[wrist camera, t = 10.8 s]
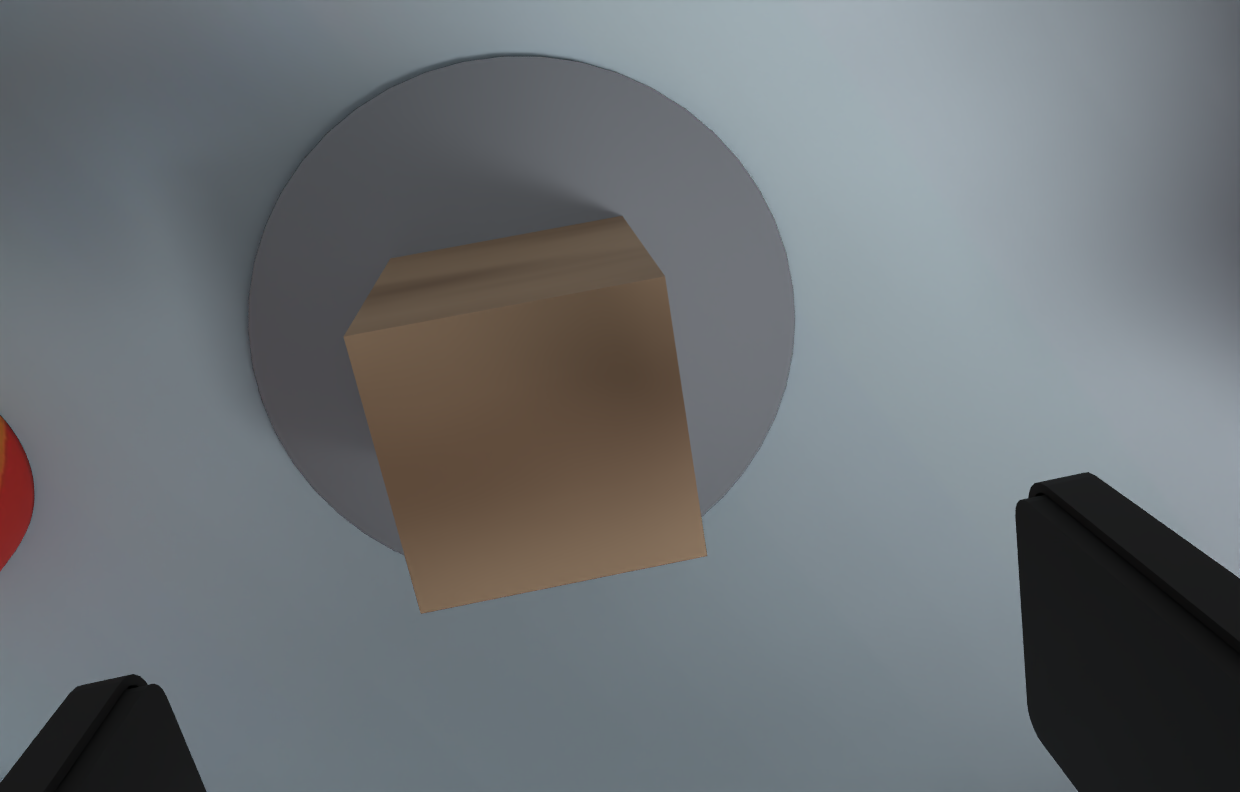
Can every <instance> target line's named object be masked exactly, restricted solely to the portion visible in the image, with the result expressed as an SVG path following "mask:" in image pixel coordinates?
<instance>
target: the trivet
mask: <svg viewBox="0 0 1240 792" xmlns="http://www.w3.org/2000/svg"><path fill="white" fill-rule="evenodd" d="M618 216H623V217H624V219H625V220H626V222H627V223H628V224H629V226H630V227H631V229H632V230H633V232H634V233H635V234H636V236H637V237H638V239H639V240H640V241H641V243H642V244H643V246H644V247H645V249H646V250H647V251H648V253H649V254H650V256H651V257H652V258H653V260H654V261H655V263H656V264H657V266H658V267H659V268H660V270H661V271H662V273H663V274H664V275H665V279H666V285H667V292H668V299H669V305H670V312H671V319H672V325H673V332H674V339H675V345H676V352H677V359H678V365H679V372H680V378H681V385H682V392H683V398H684V405H685V412H686V418H687V425H688V432H689V438H690V445H691V452H692V458H693V465H694V472H695V478H696V485H697V492H698V498H699V505H700V511H701V517H702V516H703V515H704V514H705V513H706V512H707V511H708V510H710V509H711V508H712V507H713V506H714V505H715V504H716V503H717V502H718V501H719V500H720V499H721V498H723V496H724V495H725V494H726V493H727V492H728V491H729V489H730V488H731V487H732V486H733V485H734V483H735V482H736V481H737V480H738V479H739V478H740V476H741V475H742V474H743V473H744V471H745V470H746V468H747V467H748V465H749V464H750V462H751V461H752V459H753V458H754V456H755V455H756V453H757V452H758V450H759V449H760V447H761V446H762V443H763V441H764V439H765V437H766V435H767V433H768V431H769V429H770V427H771V425H772V423H773V421H774V419H775V417H776V414H777V411H778V408H779V405H780V403H781V400H782V397H783V394H784V391H785V388H786V384H787V380H788V375H789V370H790V365H791V360H792V355H793V343H794V329H795V311H794V295H793V285H792V279H791V274H790V269H789V264H788V259H787V254H786V251H785V248H784V245H783V242H782V239H781V237H780V234H779V231H778V228H777V225H776V222H775V220H774V218H773V216H772V214H771V212H770V210H769V208H768V206H767V204H766V202H765V200H764V198H763V196H762V194H761V192H760V190H759V188H758V187H757V185H756V184H755V182H754V181H753V180H752V178H751V177H750V175H749V174H748V172H747V171H746V169H745V168H744V166H743V165H742V164H741V162H740V161H739V159H738V158H737V157H736V156H735V155H734V154H733V153H732V152H731V151H730V149H729V148H728V147H727V146H726V145H725V144H724V143H723V142H722V141H721V140H720V139H719V137H718V136H717V135H716V134H715V133H714V132H713V131H712V130H710V129H709V128H708V127H707V126H706V125H704V124H703V123H702V122H701V121H700V120H698V119H697V118H696V117H695V116H694V115H692V114H691V113H690V112H689V111H688V110H686V109H685V108H683V107H682V106H680V105H679V104H677V103H675V102H674V101H672V100H671V99H669V98H667V97H666V96H664V95H662V94H661V93H659V92H658V91H656V90H654V89H653V88H650V87H648V86H646V85H644V84H641V83H639V82H637V81H635V80H632V79H630V78H628V77H626V76H623V75H621V74H619V73H616V72H612V71H609V70H606V69H602V68H599V67H595V66H592V65H588V64H585V63H581V62H575V61H568V60H561V59H554V58H547V57H495V58H488V59H480V60H473V61H465V62H461V63H457V64H454V65H450V66H447V67H443V68H439V69H436V70H432V71H429V72H425V73H423V74H421V75H418V76H416V77H414V78H412V79H409V80H407V81H405V82H402V83H400V84H398V85H396V86H393V87H391V88H389V89H387V90H386V91H384V92H383V93H381V94H379V95H378V96H376V97H375V98H373V99H371V100H370V101H368V102H366V103H365V104H363V105H362V106H360V107H358V108H357V109H356V110H354V111H353V112H352V113H351V114H350V115H348V116H347V117H346V118H345V119H344V120H342V121H341V122H340V123H339V124H338V125H336V126H335V127H334V128H333V129H332V130H330V131H329V132H328V133H327V134H326V135H325V136H324V137H323V139H322V140H321V141H320V142H319V143H318V144H317V145H316V146H315V147H314V149H313V150H312V151H311V152H310V153H309V154H308V155H307V156H306V157H305V159H304V160H303V161H302V162H301V164H300V165H299V167H298V168H297V170H296V171H295V173H294V174H293V176H292V177H291V179H290V180H289V182H288V183H287V185H286V186H285V188H284V189H283V191H282V192H281V194H280V196H279V198H278V200H277V202H276V205H275V207H274V209H273V211H272V213H271V215H270V217H269V219H268V221H267V224H266V226H265V229H264V232H263V235H262V238H261V242H260V245H259V248H258V251H257V255H256V258H255V261H254V267H253V274H252V280H251V287H250V293H249V330H248V333H249V341H250V349H251V356H252V364H253V370H254V373H255V377H256V381H257V384H258V388H259V392H260V395H261V399H262V402H263V405H264V407H265V409H266V412H267V414H268V416H269V419H270V421H271V423H272V426H273V428H274V430H275V433H276V435H277V436H278V438H279V440H280V441H281V443H282V445H283V446H284V448H285V450H286V451H287V453H288V455H289V456H290V458H291V460H292V462H293V463H294V464H295V466H296V467H297V468H298V469H299V471H300V472H301V473H302V475H303V476H304V477H305V478H306V480H307V481H308V482H309V483H310V485H311V486H312V487H313V489H314V490H315V491H316V492H317V493H318V494H319V495H320V496H321V497H322V498H323V499H324V500H325V501H326V502H327V503H328V504H329V505H330V506H331V507H332V508H333V509H334V510H336V511H337V512H338V513H339V514H340V515H341V516H343V517H344V518H345V519H346V520H348V521H349V522H350V523H352V524H353V525H354V526H356V527H357V528H358V529H359V530H361V531H362V532H363V533H365V534H366V535H368V536H370V537H371V538H373V539H375V540H376V541H378V542H380V543H382V544H383V545H385V546H387V547H388V548H390V549H392V550H393V551H396V552H398V553H400V554H403V555H404V552H403V548H402V544H401V541H400V537H399V534H398V530H397V527H396V523H395V519H394V516H393V512H392V509H391V505H390V501H389V498H388V494H387V491H386V487H385V484H384V480H383V476H382V473H381V469H380V466H379V462H378V459H377V455H376V451H375V448H374V444H373V441H372V437H371V433H370V430H369V426H368V423H367V419H366V416H365V412H364V408H363V405H362V401H361V398H360V394H359V390H358V387H357V383H356V380H355V376H354V373H353V369H352V365H351V362H350V358H349V355H348V351H347V348H346V344H345V340H344V335H345V333H346V332H347V330H348V328H349V327H350V325H351V323H352V322H353V320H354V318H355V317H356V315H357V313H358V312H359V310H360V308H361V307H362V305H363V303H364V302H365V300H366V298H367V297H368V295H369V293H370V292H371V290H372V288H373V287H374V285H375V283H376V282H377V280H378V278H379V277H380V275H381V273H382V272H383V270H384V268H385V267H386V265H387V263H388V262H389V260H390V258H396V257H401V256H407V255H412V254H417V253H423V252H428V251H434V250H439V249H445V248H450V247H455V246H461V245H466V244H472V243H477V242H483V241H488V240H493V239H499V238H504V237H510V236H515V235H521V234H526V233H531V232H537V231H542V230H548V229H553V228H559V227H564V226H569V225H575V224H580V223H586V222H591V221H597V220H602V219H607V218H613V217H618Z"/></svg>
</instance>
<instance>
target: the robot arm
mask: <svg viewBox="0 0 1240 792" xmlns="http://www.w3.org/2000/svg"><path fill="white" fill-rule="evenodd" d="M1015 516H1016V532H1017V548H1018V564H1019V580H1020V596H1021V612H1022V628H1023V644H1024V660H1025V676H1026V692H1027V705H1028V712H1029V716H1030V720H1031V722H1032V725H1033V728H1034V730H1035V732H1036V734H1037V736H1038V738H1039V739H1040V741H1041V742H1042V744H1043V745H1044V747H1045V748H1046V749H1047V750H1048V752H1049V753H1050V754H1051V756H1052V757H1053V758H1054V760H1055V761H1056V762H1057V764H1058V765H1059V766H1060V768H1061V769H1062V770H1063V772H1064V773H1065V774H1066V776H1067V777H1068V778H1069V780H1070V781H1071V782H1072V784H1073V785H1074V786H1075V788H1076V789H1077V790H1078V792H1240V578H1238V577H1237V576H1235V575H1234V574H1233V573H1231V572H1230V571H1228V570H1227V569H1226V568H1224V567H1223V566H1221V565H1220V564H1219V563H1217V562H1216V561H1214V560H1213V559H1212V558H1210V557H1209V556H1207V555H1206V554H1205V553H1203V552H1202V551H1200V550H1199V549H1198V548H1196V547H1195V546H1193V545H1192V544H1191V543H1189V542H1188V541H1186V540H1185V539H1184V538H1182V537H1181V536H1179V535H1178V534H1177V533H1175V532H1174V531H1172V530H1171V529H1170V528H1168V527H1167V526H1165V525H1164V524H1163V523H1161V522H1160V521H1158V520H1157V519H1155V518H1154V517H1153V516H1151V515H1150V514H1148V513H1147V512H1146V511H1144V510H1143V509H1141V508H1140V507H1139V506H1137V505H1136V504H1134V503H1133V502H1132V501H1130V500H1129V499H1127V498H1126V497H1125V496H1123V495H1122V494H1120V493H1119V492H1118V491H1116V490H1115V489H1113V488H1112V487H1111V486H1109V485H1108V484H1106V483H1105V482H1104V481H1102V480H1101V479H1099V478H1098V477H1097V476H1095V475H1093V474H1091V473H1089V472H1087V473H1081V474H1076V475H1071V476H1067V477H1062V478H1057V479H1052V480H1048V481H1043V482H1038V483H1034V485H1033V486H1032V487H1031V489H1030V492H1029V498H1027V499H1023V500H1020V501H1019V502H1018V503H1017V506H1016V515H1015ZM0 792H206V789H205V787H204V785H203V782H202V780H201V777H200V775H199V773H198V770H197V768H196V766H195V763H194V761H193V758H192V756H191V754H190V751H189V749H188V746H187V744H186V742H185V739H184V737H183V735H182V732H181V730H180V727H179V725H178V723H177V720H176V718H175V715H174V713H173V711H172V708H171V706H170V703H169V701H168V699H167V696H166V695H165V693H164V691H163V689H162V688H161V687H160V686H158V685H156V684H150V685H148V684H147V683H146V681H145V680H143V679H142V678H141V677H140V676H138V675H134V674H132V675H127V676H122V677H118V678H113V679H108V680H104V681H99V682H94V683H89V684H85V685H81V686H77V687H76V688H75V689H74V690H73V691H72V692H70V694H69V695H68V696H67V698H66V699H65V700H64V701H63V703H62V704H61V705H60V707H59V708H58V709H57V710H56V712H55V713H54V714H53V716H52V717H51V718H50V719H49V721H48V722H47V723H46V725H45V726H44V727H43V729H42V730H41V731H40V732H39V734H38V735H37V736H36V738H35V739H34V740H33V741H32V743H31V744H30V745H29V747H28V748H27V749H26V750H25V752H24V753H23V754H22V756H21V757H20V758H19V760H18V761H17V762H16V763H15V765H14V766H13V767H12V769H11V770H10V771H9V772H8V774H7V775H6V776H5V778H4V779H3V780H2V781H1V783H0Z"/></svg>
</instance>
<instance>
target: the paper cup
mask: <svg viewBox="0 0 1240 792" xmlns="http://www.w3.org/2000/svg"><path fill="white" fill-rule="evenodd" d="M33 507H34V482H33V476H32V471H31V468H30V464H29V461H28V459H27V456H26V453H25V451H24V449H23V447H22V445H21V443H20V442H19V440H18V438H17V436H16V435H15V434H14V432H13V431H12V429H11V428H10V426H9V425H8V424H7V423H6V421H5V420H4V419H3V418H2V417H1V416H0V571H1V570H2V568H3V567H4V566H5V565H6V563H7V562H8V560H9V559H10V558H11V556H12V555H13V553H14V552H15V551H16V549H17V547H18V546H19V544H20V543H21V541H22V539H23V537H24V535H25V533H26V531H27V529H28V526H29V524H30V521H31V517H32V513H33Z"/></svg>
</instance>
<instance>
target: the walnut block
mask: <svg viewBox="0 0 1240 792" xmlns="http://www.w3.org/2000/svg"><path fill="white" fill-rule="evenodd" d="M344 340H345V344H346V348H347V351H348V355H349V358H350V362H351V365H352V369H353V373H354V376H355V380H356V383H357V387H358V390H359V394H360V398H361V401H362V405H363V408H364V412H365V416H366V419H367V423H368V426H369V430H370V433H371V437H372V441H373V444H374V448H375V451H376V455H377V459H378V462H379V466H380V469H381V473H382V476H383V480H384V484H385V487H386V491H387V494H388V498H389V501H390V505H391V509H392V512H393V516H394V519H395V523H396V527H397V530H398V534H399V537H400V541H401V544H402V548H403V552H404V555H405V559H406V562H407V566H408V569H409V573H410V577H411V580H412V584H413V587H414V591H415V595H416V598H417V602H418V605H419V609H420V612H421V614H422V613H427V612H432V611H437V610H442V609H447V608H452V607H457V606H462V605H467V604H472V603H477V602H482V601H487V600H491V599H496V598H501V597H506V596H511V595H516V594H521V593H526V592H531V591H536V590H541V589H546V588H551V587H556V586H561V585H566V584H571V583H576V582H581V581H586V580H591V579H596V578H600V577H605V576H610V575H615V574H620V573H625V572H630V571H635V570H640V569H645V568H650V567H655V566H660V565H665V564H670V563H675V562H680V561H685V560H690V559H695V558H700V557H705V556H707V551H706V545H705V538H704V531H703V525H702V518H701V511H700V505H699V498H698V492H697V485H696V478H695V472H694V465H693V458H692V452H691V445H690V438H689V432H688V425H687V418H686V412H685V405H684V398H683V392H682V385H681V378H680V372H679V365H678V359H677V352H676V345H675V339H674V332H673V325H672V319H671V312H670V305H669V299H668V292H667V285H666V279H665V275H664V274H663V273H662V271H661V270H660V268H659V267H658V266H657V264H656V263H655V261H654V260H653V258H652V257H651V256H650V254H649V253H648V251H647V250H646V249H645V247H644V246H643V244H642V243H641V241H640V240H639V239H638V237H637V236H636V234H635V233H634V232H633V230H632V229H631V227H630V226H629V224H628V223H627V222H626V220H625V219H624V217H623V216H618V217H613V218H607V219H602V220H597V221H591V222H586V223H580V224H575V225H569V226H564V227H559V228H553V229H548V230H542V231H537V232H531V233H526V234H521V235H515V236H510V237H504V238H499V239H493V240H488V241H483V242H477V243H472V244H466V245H461V246H455V247H450V248H445V249H439V250H434V251H428V252H423V253H417V254H412V255H407V256H401V257H396V258H390V260H389V262H388V263H387V265H386V267H385V268H384V270H383V272H382V273H381V275H380V277H379V278H378V280H377V282H376V283H375V285H374V287H373V288H372V290H371V292H370V293H369V295H368V297H367V298H366V300H365V302H364V303H363V305H362V307H361V308H360V310H359V312H358V313H357V315H356V317H355V318H354V320H353V322H352V323H351V325H350V327H349V328H348V330H347V332H346V333H345V335H344Z"/></svg>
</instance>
